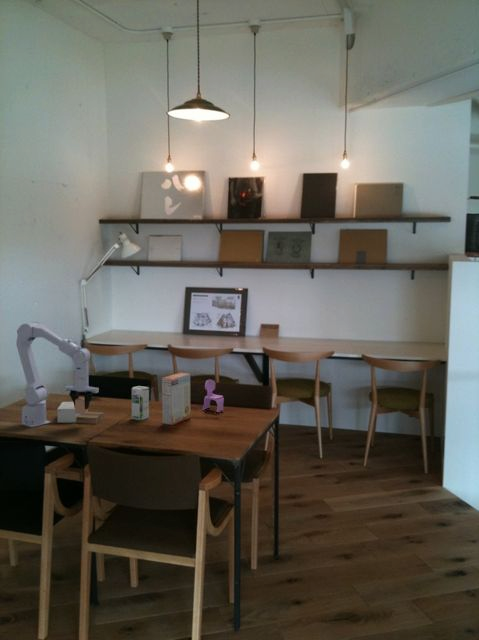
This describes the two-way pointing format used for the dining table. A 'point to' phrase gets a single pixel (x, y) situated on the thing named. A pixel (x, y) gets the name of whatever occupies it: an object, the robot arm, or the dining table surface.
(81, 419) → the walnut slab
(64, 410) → the small box
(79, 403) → the terracotta block
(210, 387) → the toy chair
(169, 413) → the cracker box
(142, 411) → the syrup box
